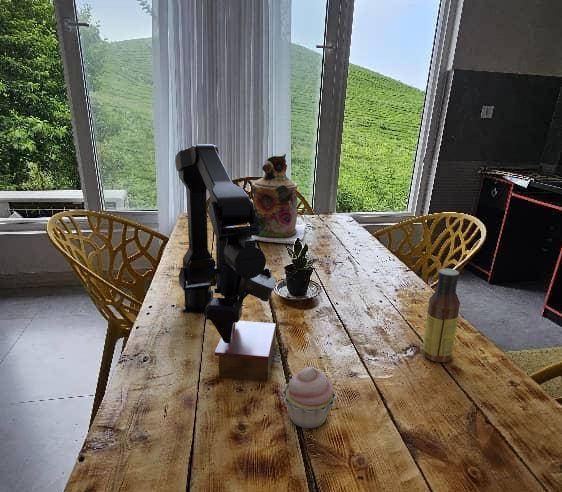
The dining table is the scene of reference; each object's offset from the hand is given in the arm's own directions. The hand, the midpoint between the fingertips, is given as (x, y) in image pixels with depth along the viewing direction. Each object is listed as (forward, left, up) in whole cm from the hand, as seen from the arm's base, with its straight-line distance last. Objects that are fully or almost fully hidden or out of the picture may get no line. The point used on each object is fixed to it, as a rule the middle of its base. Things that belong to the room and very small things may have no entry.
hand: (231, 331), depth 90 cm
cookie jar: (-1, +93, -7) cm, 93 cm away
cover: (+3, 0, -2) cm, 4 cm away
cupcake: (+17, -16, -7) cm, 24 cm away
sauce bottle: (+44, +8, -7) cm, 45 cm away
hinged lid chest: (+4, 0, -6) cm, 7 cm away
